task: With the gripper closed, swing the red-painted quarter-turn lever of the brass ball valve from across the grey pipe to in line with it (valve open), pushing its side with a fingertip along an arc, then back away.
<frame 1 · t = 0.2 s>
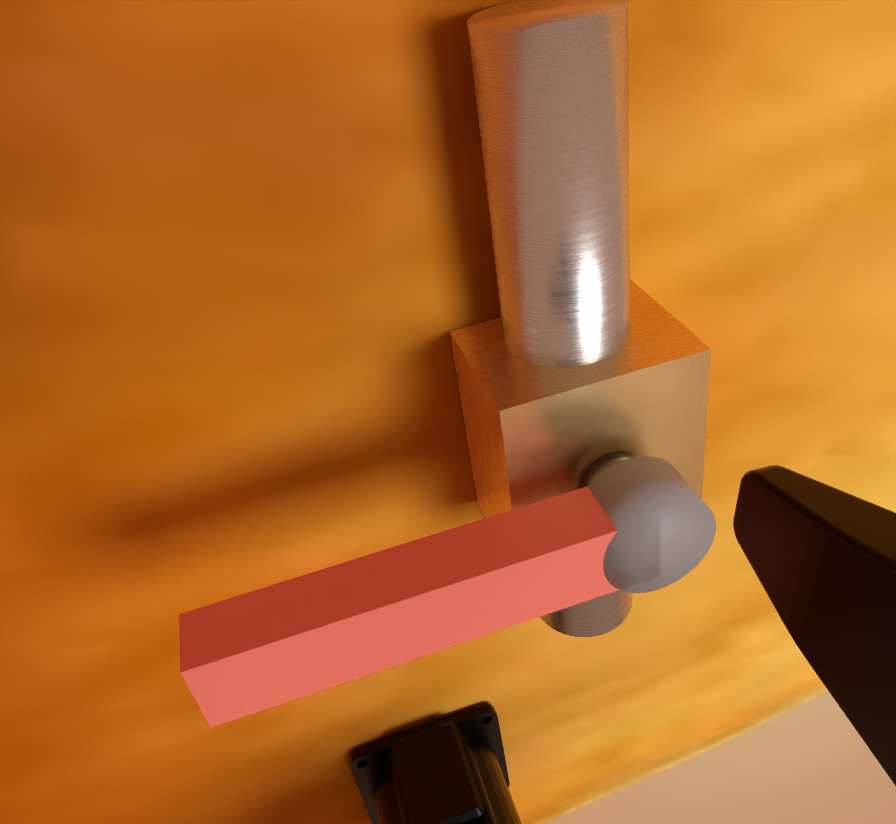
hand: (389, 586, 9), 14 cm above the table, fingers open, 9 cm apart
lever: (458, 584, 21), point 6 cm above the table, hinge at 90.0°
valve: (550, 398, 27), on the table
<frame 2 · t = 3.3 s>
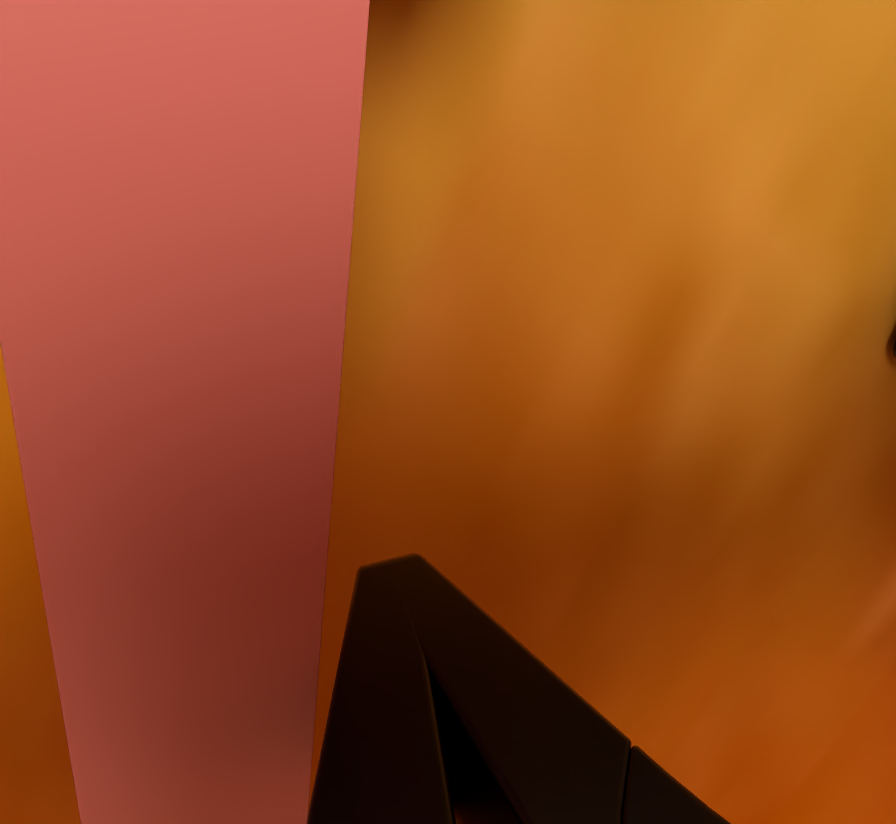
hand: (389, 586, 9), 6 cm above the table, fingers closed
lever: (179, 260, 6), point 6 cm above the table, hinge at 88.0°, touching gripper
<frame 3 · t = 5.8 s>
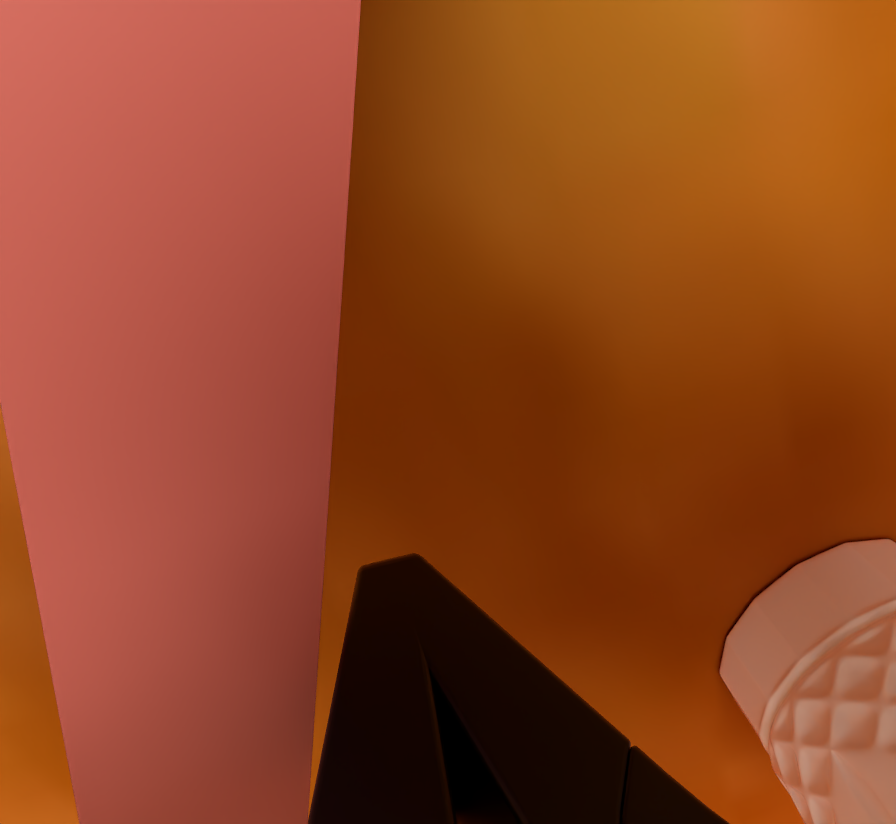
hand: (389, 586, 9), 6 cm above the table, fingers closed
lever: (170, 230, 6), point 6 cm above the table, hinge at 43.0°, touching gripper
white cup: (813, 617, 24), on the table
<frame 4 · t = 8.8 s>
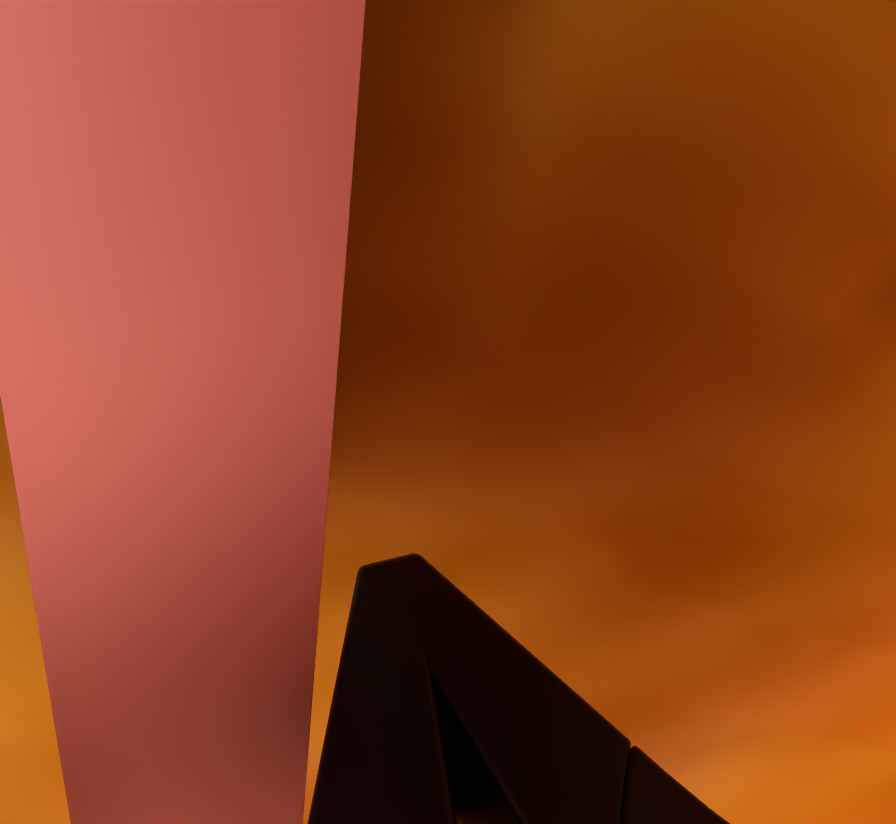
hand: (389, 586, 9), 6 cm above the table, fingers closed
lever: (172, 216, 6), point 6 cm above the table, hinge at -1.5°, touching gripper
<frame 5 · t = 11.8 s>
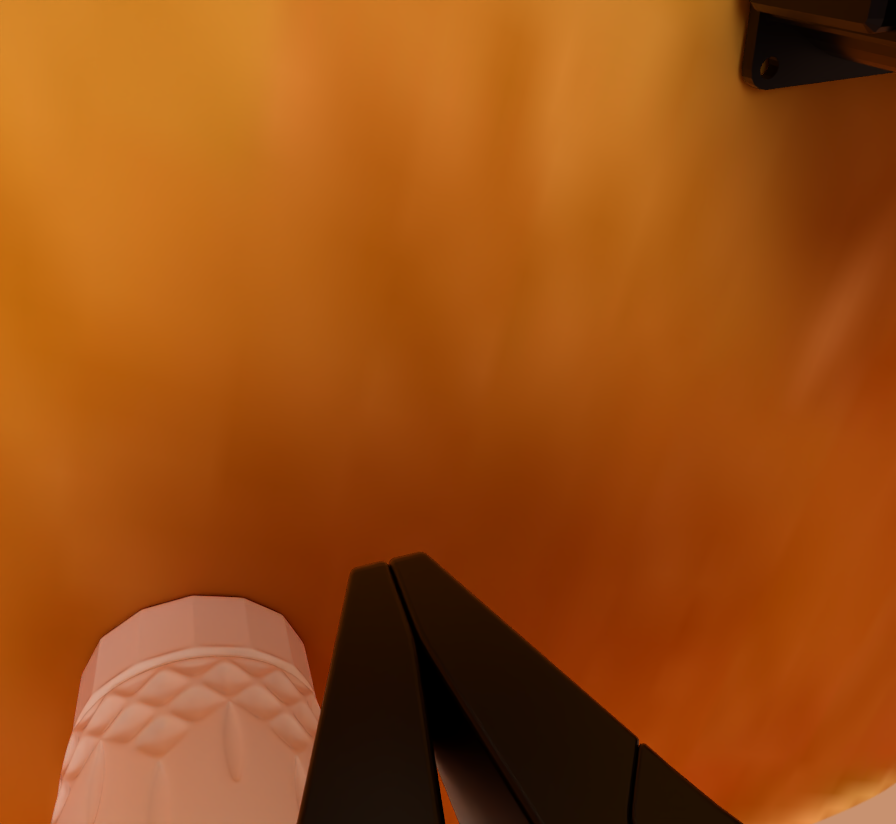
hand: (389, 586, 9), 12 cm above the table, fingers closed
white cup: (198, 664, 26), on the table
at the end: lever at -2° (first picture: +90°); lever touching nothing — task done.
